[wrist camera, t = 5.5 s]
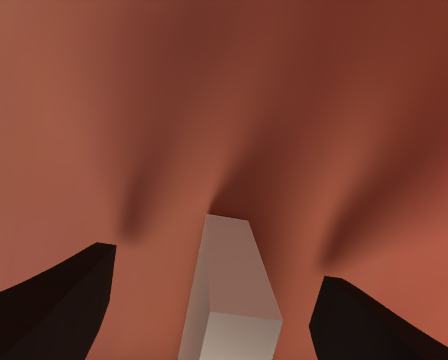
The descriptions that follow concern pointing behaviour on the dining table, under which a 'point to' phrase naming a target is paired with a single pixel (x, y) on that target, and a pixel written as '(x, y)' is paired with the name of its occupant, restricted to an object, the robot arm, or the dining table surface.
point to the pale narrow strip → (230, 298)
